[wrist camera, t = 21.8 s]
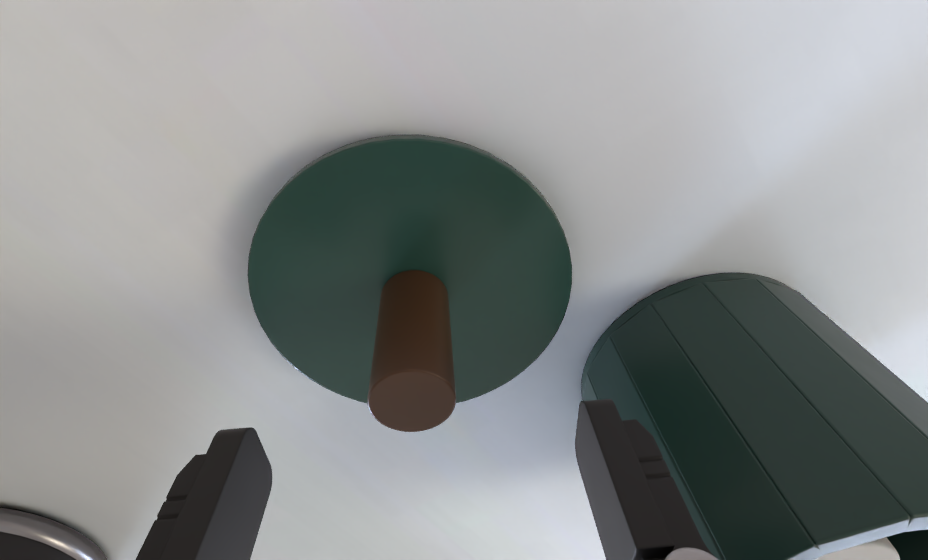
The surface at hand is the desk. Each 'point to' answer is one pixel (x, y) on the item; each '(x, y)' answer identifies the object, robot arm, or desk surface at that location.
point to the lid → (410, 275)
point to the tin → (769, 419)
